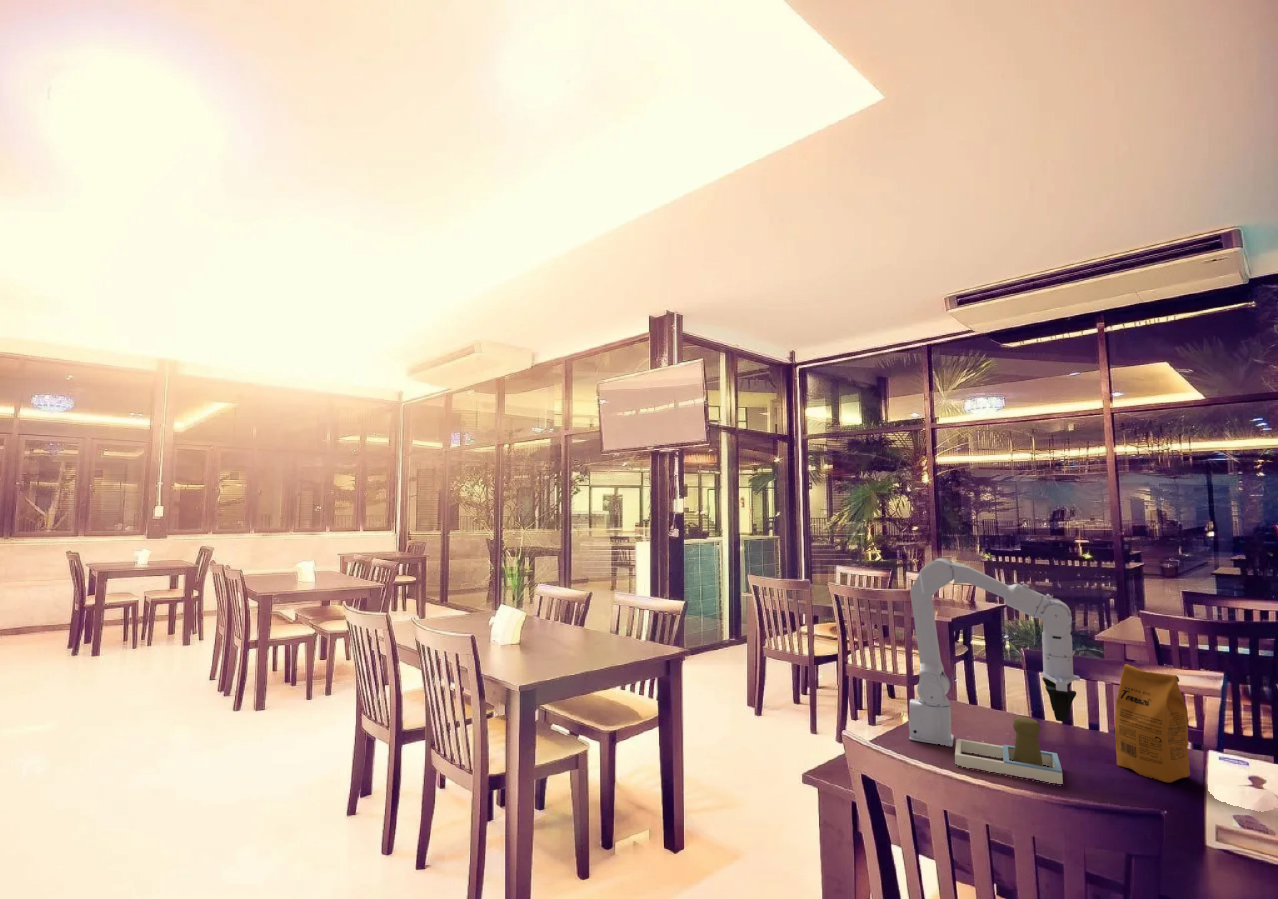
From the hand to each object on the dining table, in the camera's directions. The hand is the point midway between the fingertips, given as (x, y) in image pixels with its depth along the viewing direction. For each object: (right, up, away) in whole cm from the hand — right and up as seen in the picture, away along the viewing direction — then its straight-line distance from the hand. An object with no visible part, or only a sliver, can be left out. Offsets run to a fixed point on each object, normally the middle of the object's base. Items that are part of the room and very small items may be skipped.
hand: (1059, 716), depth 145 cm
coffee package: (+17, -11, -4) cm, 21 cm away
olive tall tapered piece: (-10, -10, -5) cm, 15 cm away
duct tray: (-14, -10, -3) cm, 17 cm away
